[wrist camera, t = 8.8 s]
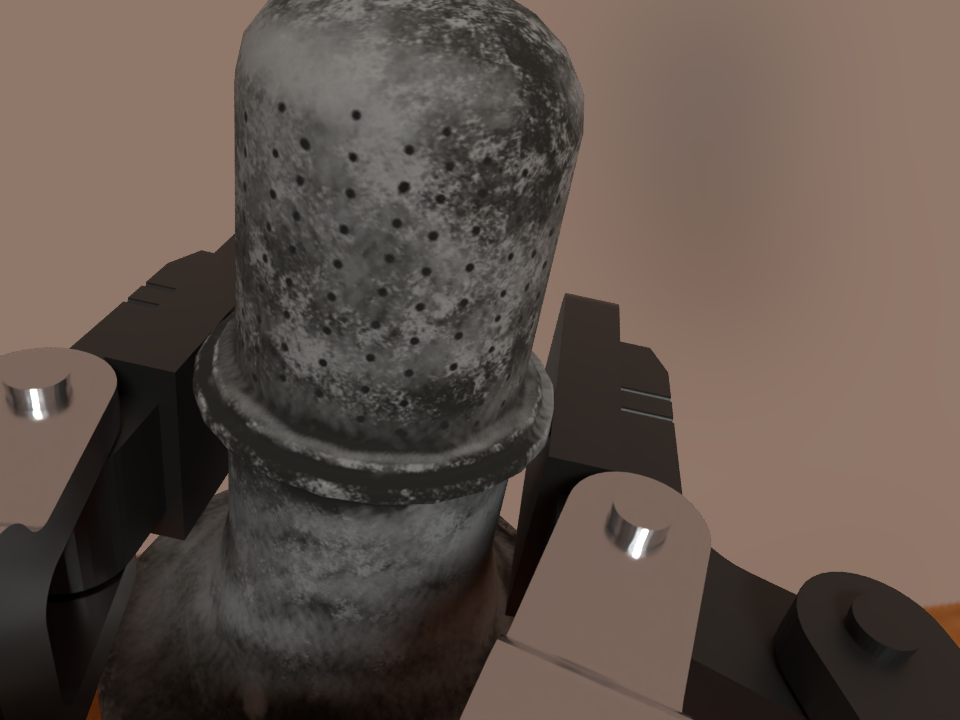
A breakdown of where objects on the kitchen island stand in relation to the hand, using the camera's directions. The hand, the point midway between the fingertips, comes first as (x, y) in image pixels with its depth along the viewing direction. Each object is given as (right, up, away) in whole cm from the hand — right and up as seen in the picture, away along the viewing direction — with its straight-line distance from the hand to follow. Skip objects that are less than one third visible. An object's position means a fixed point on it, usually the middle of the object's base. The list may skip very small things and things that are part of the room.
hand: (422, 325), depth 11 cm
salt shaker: (-1, -7, +1) cm, 7 cm away
